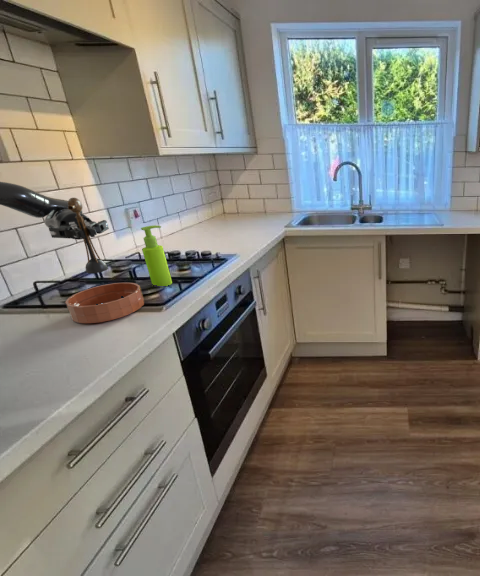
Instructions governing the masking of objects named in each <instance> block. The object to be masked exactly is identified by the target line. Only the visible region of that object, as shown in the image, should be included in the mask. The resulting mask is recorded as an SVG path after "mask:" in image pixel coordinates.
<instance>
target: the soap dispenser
mask: <svg viewBox="0 0 480 576" xmlns="http://www.w3.org/2000/svg"><path fill="white" fill-rule="evenodd" d="M161 228H162V226H161V225H156V224H155V225H147V226H146V225H145V226H143V227H140V230H141V231H143V232H144V234H145V236H144V237H143V242H144V245H145V247H143V248H142V249H141V251H142V256H143V258H144V262H145V265H146V269H147V272H148V274H149V278H150V282H151V285H152V284H153V285H157V286H166V287H169V286H171V285H172V284H173V280H172V276H171V273H170V268H169V265H168V261H167V258H166V254H165V250H164V247H163V245H162V244H161V245H160V244H158V241H157V237H156V236H155V235H153V233H152V229H161ZM153 285H152V286H153ZM168 285H169V286H168Z"/></svg>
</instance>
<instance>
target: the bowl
mask: <svg viewBox="0 0 480 576" xmlns="http://www.w3.org/2000/svg"><path fill="white" fill-rule="evenodd" d="M121 296H123V297H124V298H121ZM64 303H65V305H66V308H67V310H68V313H69V315H70V318H71V320H72V321H73V322H75V323H78V324H98V323H105V322H110V321H113V320H118V319H121V318H123V317H126V316H129V315H131V314H132V313H134V312H136V311H138V310H140V309H141V308H142V307H143V306H144V305H145V298H144V295H143V291H142V288H141V285H139V284H138V283H135V282H114V283H108V284H101V285H97V286H94V287H90V288H87V289H84V290H81V291H79V292H77V293H74V294H72V295H71V296H69V297H68V298H67V299H66V300H65V302H64ZM101 303H103V304H101ZM96 304H98V305H96Z"/></svg>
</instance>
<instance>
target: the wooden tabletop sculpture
mask: <svg viewBox="0 0 480 576" xmlns="http://www.w3.org/2000/svg"><path fill="white" fill-rule="evenodd" d="M67 201H68V209H69V210H71V211H72V212H75V213H76V215H77V217H75V218H76V219H77V222H78V225H79V228H80V229H81V230H83V233H84V236H85V238H84V239H82V240H83V244H84V247H85V250H86V256H87V262H86V264H85V272H86V273H87V274H99V273H103V272H106V271H108V269H109V267H108V264H106V262H105V261H103V260H102V258H101V257H100V256H99V254H98V252H97V250H96V248H95V245H94V244H93V241H92V239H91V236H89V234H88V231H87V228H86V225H85V222H84V219H83V216H81V215H80V212H81V211H82V212H83V204H82V201H81V200H80V199H78V198H77V197H70V198H68V200H67Z"/></svg>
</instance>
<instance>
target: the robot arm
mask: <svg viewBox="0 0 480 576" xmlns="http://www.w3.org/2000/svg"><path fill="white" fill-rule="evenodd" d="M0 206H3V207H7V208H9V209H12V210H13V211H17V212H19V213H22V214H25V215H27V216H30V217H33V218H37V219H41V218H44V225H45V226H46V227H47V228H48V232H49V234H50V237H51V238H53V239H72V240H83V239H84V238H85V236H84V233H83V230H81V229H80V228H79V225H78V222H77V219H76V218H75V217H77V215H76V213H75V212H72V211H71V210H69V209H68V200H66V199H61V198H55V197H50V196H46V195H45V194H42V193H39V192H37V191H34V190H32V189H30V188H28V187H26V186H23V185H19V184H15V183H11V182H4V181H0ZM80 215H81V216H83V219H84V222H85V225H86V228H87V231H88V234H89V236H90V238H95V237H96V236H97V235H100V234H102V233H104V232H106V231H108V230H110V228H109V224H108V221H107V219H102V220H100V221H98V222H97V221H92V219H91V218H90V217H89V216H87V215H85V214H84V213H83V210H82V211H81V212H80Z"/></svg>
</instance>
